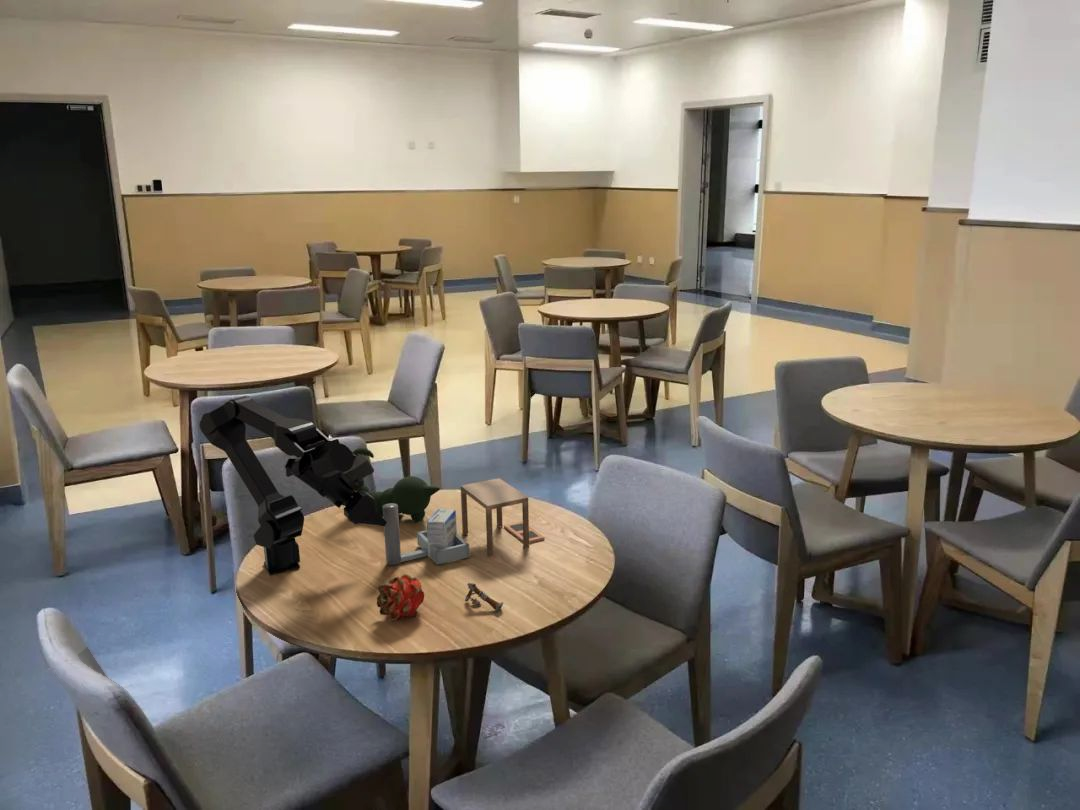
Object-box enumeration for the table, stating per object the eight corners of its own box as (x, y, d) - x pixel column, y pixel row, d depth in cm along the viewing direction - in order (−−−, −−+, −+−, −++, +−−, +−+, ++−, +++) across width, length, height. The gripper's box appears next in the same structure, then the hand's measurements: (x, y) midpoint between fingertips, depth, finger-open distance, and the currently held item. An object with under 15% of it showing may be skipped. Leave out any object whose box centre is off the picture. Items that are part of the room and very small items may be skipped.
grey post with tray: (395, 574, 172) (392, 516, 168) (378, 553, 182) (374, 498, 179) (469, 556, 179) (467, 501, 176) (448, 537, 190) (446, 484, 186)
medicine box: (447, 559, 179) (445, 522, 176) (427, 558, 180) (425, 521, 177) (457, 544, 186) (456, 509, 184) (439, 543, 187) (437, 508, 185)
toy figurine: (343, 527, 202) (436, 528, 195) (331, 454, 198) (425, 452, 190) (361, 513, 211) (451, 513, 203) (350, 442, 206) (441, 440, 199)
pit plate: (525, 544, 186) (525, 541, 186) (504, 527, 196) (504, 525, 196) (544, 539, 189) (544, 536, 189) (522, 523, 198) (522, 520, 198)
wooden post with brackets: (464, 595, 161) (471, 578, 160) (496, 618, 159) (503, 601, 157) (459, 599, 160) (466, 582, 158) (491, 623, 157) (498, 605, 155)
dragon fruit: (383, 638, 151) (411, 615, 162) (418, 617, 148) (443, 595, 160) (359, 599, 151) (388, 579, 163) (393, 577, 149) (420, 558, 160)
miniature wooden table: (489, 556, 180) (487, 505, 177) (462, 533, 193) (460, 485, 190) (529, 547, 185) (528, 497, 182) (500, 524, 197) (499, 478, 194)
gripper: (361, 458, 159) (418, 500, 167) (334, 435, 175) (387, 474, 183) (324, 503, 157) (383, 544, 165) (301, 476, 173) (355, 514, 181)
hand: (378, 517), depth 174 cm, fingers open, 9 cm apart
